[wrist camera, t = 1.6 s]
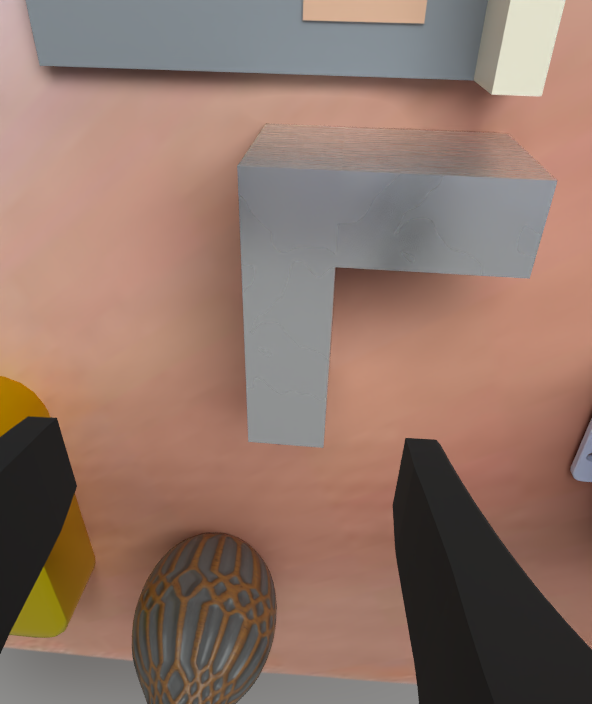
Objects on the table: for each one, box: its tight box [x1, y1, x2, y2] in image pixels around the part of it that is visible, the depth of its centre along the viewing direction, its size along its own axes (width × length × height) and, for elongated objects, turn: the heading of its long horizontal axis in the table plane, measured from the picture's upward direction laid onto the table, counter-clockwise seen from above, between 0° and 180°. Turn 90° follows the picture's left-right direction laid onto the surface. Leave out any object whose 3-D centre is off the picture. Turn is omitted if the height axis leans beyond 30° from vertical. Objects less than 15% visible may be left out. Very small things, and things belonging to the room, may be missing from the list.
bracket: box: [237, 123, 557, 448], centre depth 17 cm, size 9×8×5 cm
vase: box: [132, 533, 277, 704], centre depth 26 cm, size 7×7×9 cm
